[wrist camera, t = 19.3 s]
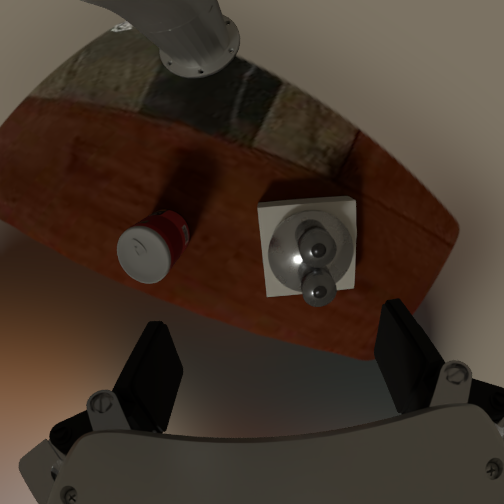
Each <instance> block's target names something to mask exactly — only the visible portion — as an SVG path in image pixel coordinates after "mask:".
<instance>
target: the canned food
mask: <svg viewBox="0 0 504 504" xmlns="http://www.w3.org/2000/svg"><path fill="white" fill-rule="evenodd" d="M189 237H190V233H189V228H188V225H187V223H186V221H185V220H184V218H183V217H182V216H181V215H179V214H178V213H176V212H174V211H171V210H166V209H165V210H158V211H156V212H154V213H153V214H151V215H149V216H148V217H146V218H144V219H143V220H141V221H140V222H138V223H136V224H135V225H133V226H132V227H130V228H129V229H127V230H126V231H125V232H124V233H123V234H122V235H121V237H120V239H119V241H118V245H117V255H118V259H119V261H120V264H121V266H122V267H123V269H124V270H125V271H126V273H127V274H128V275H129V276H131V277H132V278H133V279H135V280H137V281H139V282H142V283H156V282H158V281H160V280H161V279H162V278H164V277H165V276H166V274H167V273H168V272H169V271H170V269H171V268H172V267H173V265H174V264H175V262H176V261H177V260H178V258H179V257H180V256H181V254H182V253H183V251H184V250H185V249H186V247H187V245H188V243H189Z"/></svg>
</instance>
